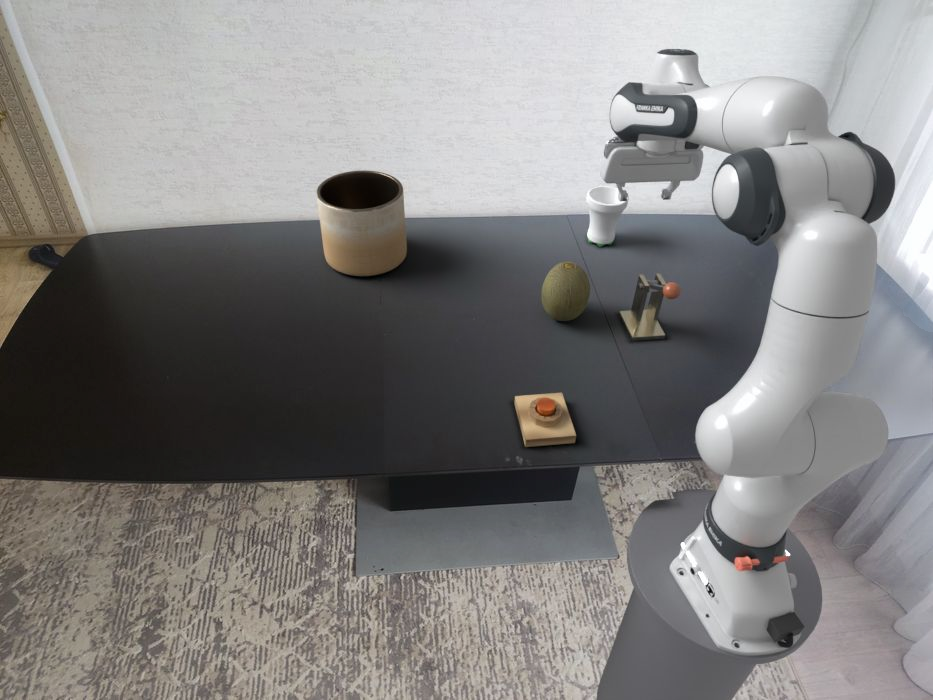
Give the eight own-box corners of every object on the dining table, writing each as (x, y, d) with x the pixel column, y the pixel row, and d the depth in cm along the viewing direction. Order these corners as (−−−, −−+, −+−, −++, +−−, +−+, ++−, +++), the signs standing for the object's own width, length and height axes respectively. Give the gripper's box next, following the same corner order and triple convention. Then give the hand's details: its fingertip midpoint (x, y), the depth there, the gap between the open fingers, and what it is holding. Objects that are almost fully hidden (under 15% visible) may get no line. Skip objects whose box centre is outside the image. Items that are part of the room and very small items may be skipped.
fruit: (553, 296, 166) (559, 246, 157) (593, 312, 162) (602, 261, 152) (530, 319, 159) (535, 267, 149) (571, 336, 155) (580, 284, 145)
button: (556, 416, 130) (557, 410, 129) (538, 417, 130) (539, 411, 129) (552, 403, 133) (553, 397, 132) (534, 404, 133) (535, 398, 131)
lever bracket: (664, 338, 155) (677, 291, 146) (631, 341, 154) (643, 293, 145) (650, 312, 162) (662, 266, 153) (618, 314, 161) (628, 268, 152)
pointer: (683, 299, 138) (683, 282, 137) (666, 300, 138) (667, 283, 137) (656, 292, 152) (656, 277, 151) (641, 293, 152) (641, 277, 151)
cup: (573, 234, 189) (579, 189, 180) (606, 227, 193) (615, 182, 183) (592, 254, 182) (600, 208, 172) (627, 246, 185) (636, 201, 175)
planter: (324, 283, 169) (314, 213, 156) (325, 238, 185) (316, 171, 172) (410, 276, 172) (407, 208, 159) (403, 233, 188) (400, 167, 175)
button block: (574, 442, 130) (577, 429, 127) (525, 447, 129) (526, 433, 126) (560, 399, 139) (563, 386, 136) (514, 403, 138) (515, 389, 135)
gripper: (611, 143, 125) (599, 208, 135) (713, 141, 128) (695, 204, 137) (602, 130, 130) (591, 193, 139) (700, 127, 132) (684, 190, 141)
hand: (643, 199), depth 138 cm, fingers open, 8 cm apart
